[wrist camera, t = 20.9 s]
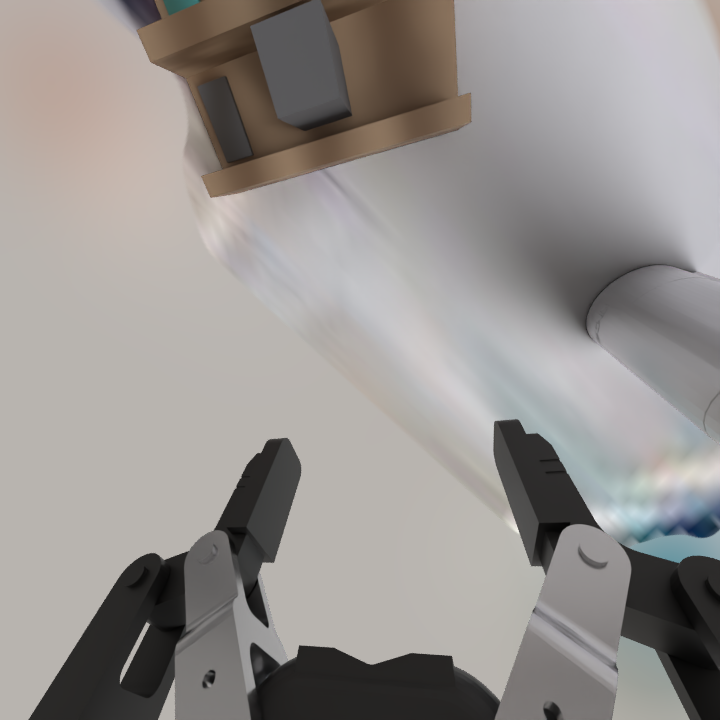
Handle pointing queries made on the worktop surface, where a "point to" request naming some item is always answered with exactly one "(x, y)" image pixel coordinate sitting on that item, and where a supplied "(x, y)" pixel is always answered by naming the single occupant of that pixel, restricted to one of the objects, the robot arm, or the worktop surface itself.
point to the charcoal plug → (303, 66)
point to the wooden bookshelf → (361, 69)
